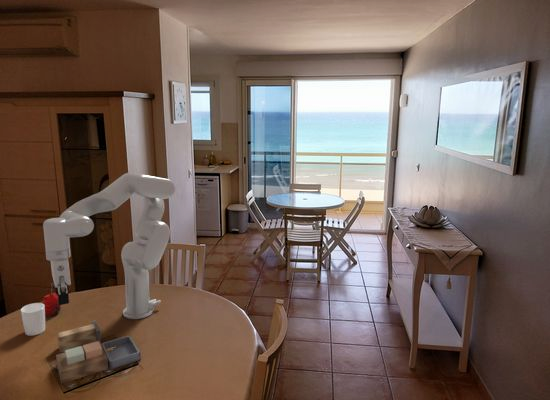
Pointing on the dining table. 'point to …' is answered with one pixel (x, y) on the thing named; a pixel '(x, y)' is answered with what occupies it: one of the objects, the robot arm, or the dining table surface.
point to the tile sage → (74, 355)
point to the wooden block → (80, 366)
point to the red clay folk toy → (51, 304)
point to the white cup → (33, 318)
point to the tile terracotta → (92, 350)
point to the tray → (121, 352)
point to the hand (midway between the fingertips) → (62, 298)
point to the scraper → (79, 337)
